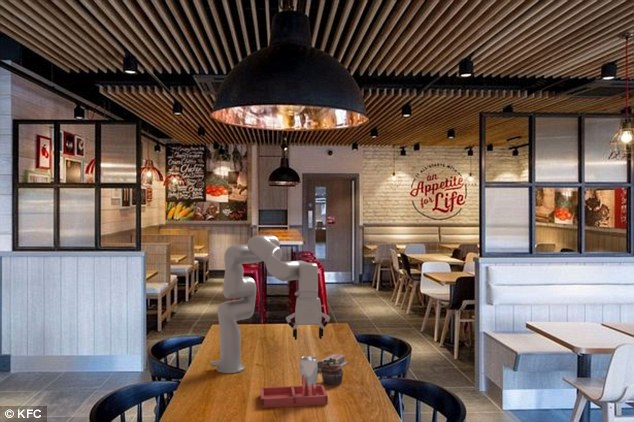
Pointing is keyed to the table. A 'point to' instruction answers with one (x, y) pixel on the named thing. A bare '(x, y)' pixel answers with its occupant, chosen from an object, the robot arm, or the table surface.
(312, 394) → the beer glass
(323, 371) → the cupcake
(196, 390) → the table surface
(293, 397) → the tray
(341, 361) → the packaged product
